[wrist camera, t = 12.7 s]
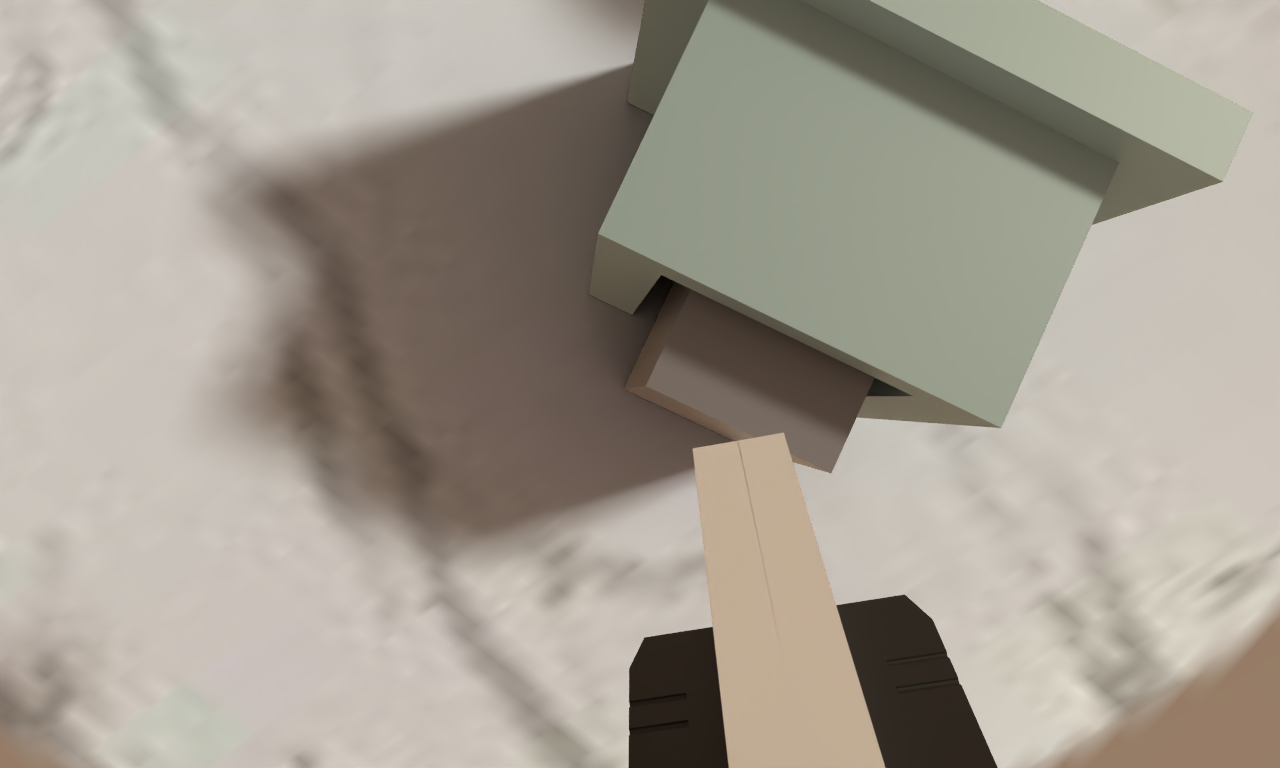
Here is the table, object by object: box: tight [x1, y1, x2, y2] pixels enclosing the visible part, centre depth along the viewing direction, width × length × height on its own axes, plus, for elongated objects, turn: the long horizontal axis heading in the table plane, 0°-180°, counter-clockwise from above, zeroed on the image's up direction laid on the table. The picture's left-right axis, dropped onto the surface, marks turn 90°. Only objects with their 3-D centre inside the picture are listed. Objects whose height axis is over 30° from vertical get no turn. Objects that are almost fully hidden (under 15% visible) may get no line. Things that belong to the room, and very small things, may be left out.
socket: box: [589, 0, 1253, 428], centre depth 29 cm, size 10×16×15 cm, turn 65°
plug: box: [624, 281, 875, 473], centre depth 31 cm, size 10×6×11 cm, turn 155°
